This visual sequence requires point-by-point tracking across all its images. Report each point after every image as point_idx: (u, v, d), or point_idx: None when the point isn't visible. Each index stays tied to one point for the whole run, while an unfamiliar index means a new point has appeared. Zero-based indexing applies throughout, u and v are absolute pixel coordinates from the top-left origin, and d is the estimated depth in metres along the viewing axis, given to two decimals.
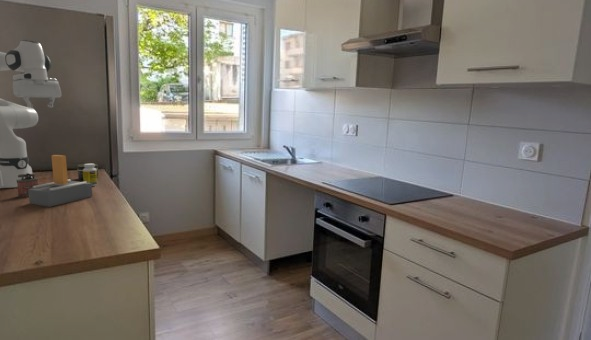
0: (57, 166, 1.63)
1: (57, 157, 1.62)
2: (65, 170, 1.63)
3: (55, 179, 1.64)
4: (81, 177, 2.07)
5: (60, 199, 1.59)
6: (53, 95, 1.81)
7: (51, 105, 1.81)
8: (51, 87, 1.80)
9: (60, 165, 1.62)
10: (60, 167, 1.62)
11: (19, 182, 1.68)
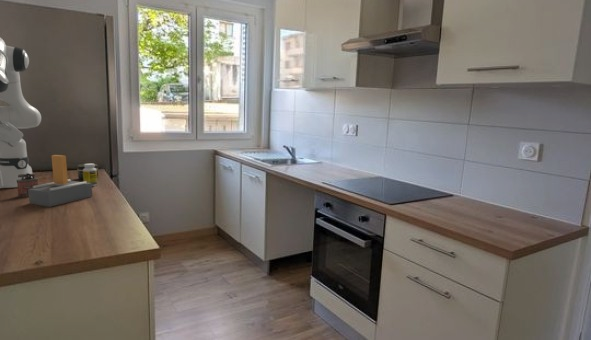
0: (57, 166, 1.63)
1: (57, 157, 1.62)
2: (65, 170, 1.63)
3: (55, 179, 1.64)
4: (81, 177, 2.07)
5: (60, 199, 1.59)
6: (9, 140, 1.39)
7: (12, 145, 1.45)
8: (1, 133, 1.36)
9: (60, 165, 1.62)
10: (60, 167, 1.62)
11: (19, 182, 1.68)
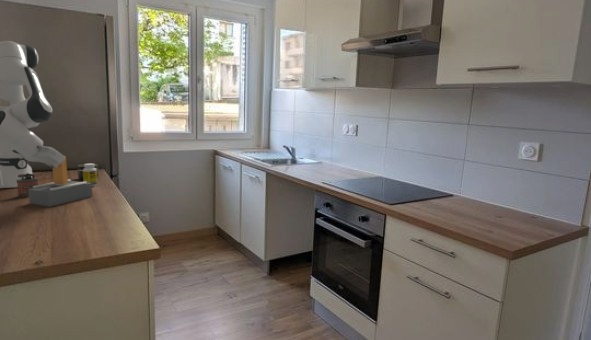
0: None
1: None
2: (65, 170, 1.63)
3: (55, 179, 1.64)
4: (81, 177, 2.07)
5: (60, 199, 1.59)
6: (52, 163, 1.55)
7: (53, 167, 1.61)
8: (46, 157, 1.52)
9: (60, 165, 1.62)
10: (60, 167, 1.62)
11: (19, 182, 1.68)
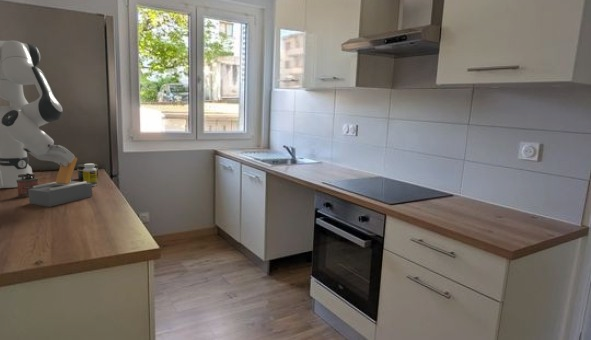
0: None
1: None
2: (71, 171, 1.66)
3: (58, 178, 1.65)
4: (81, 177, 2.07)
5: (60, 199, 1.59)
6: (62, 161, 1.59)
7: (63, 165, 1.65)
8: (56, 155, 1.56)
9: (69, 165, 1.65)
10: (68, 166, 1.65)
11: (19, 182, 1.68)
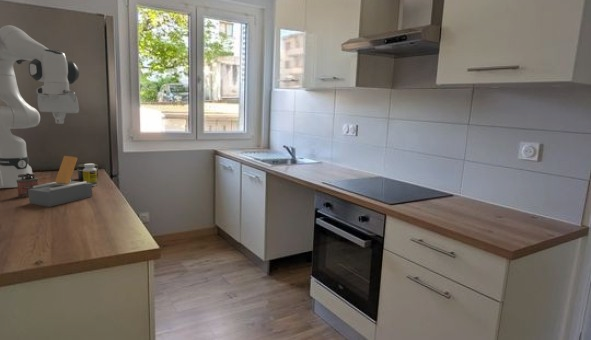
0: (65, 165, 1.66)
1: (69, 157, 1.67)
2: (71, 171, 1.66)
3: (58, 178, 1.65)
4: (81, 177, 2.07)
5: (60, 199, 1.59)
6: (64, 110, 1.57)
7: (58, 121, 1.61)
8: (63, 102, 1.57)
9: (69, 165, 1.66)
10: (68, 166, 1.65)
11: (19, 182, 1.68)
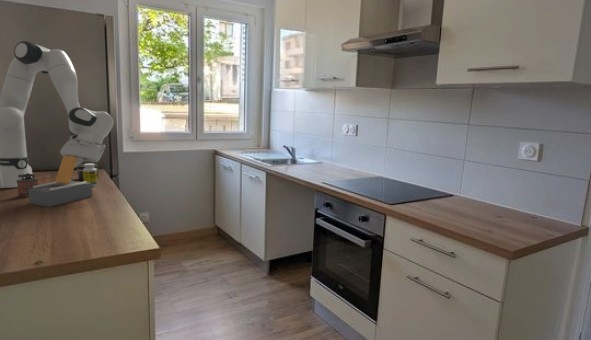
0: (65, 165, 1.66)
1: (68, 157, 1.67)
2: (71, 171, 1.66)
3: (57, 178, 1.65)
4: (81, 177, 2.07)
5: (60, 199, 1.59)
6: (86, 155, 1.68)
7: None
8: (90, 149, 1.70)
9: (68, 165, 1.65)
10: (68, 166, 1.65)
11: (19, 182, 1.68)
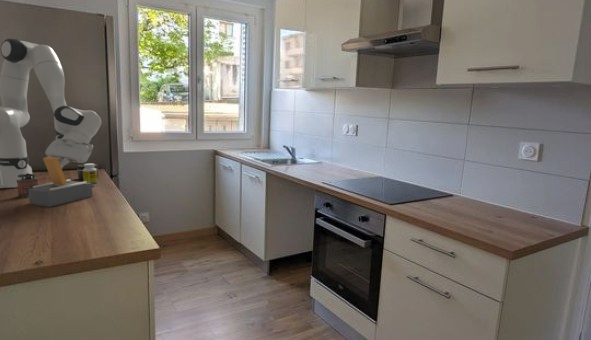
0: (51, 168, 1.60)
1: (49, 160, 1.59)
2: (61, 171, 1.61)
3: (54, 180, 1.64)
4: (81, 177, 2.07)
5: (60, 199, 1.59)
6: (72, 156, 1.62)
7: None
8: (77, 150, 1.64)
9: (54, 168, 1.59)
10: (55, 169, 1.60)
11: (19, 182, 1.68)
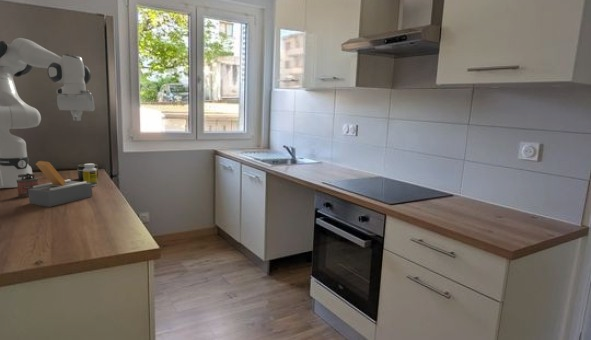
0: (47, 172, 1.59)
1: (42, 166, 1.56)
2: (57, 174, 1.60)
3: (52, 182, 1.63)
4: (81, 177, 2.07)
5: (60, 199, 1.59)
6: (81, 109, 1.76)
7: (76, 118, 1.79)
8: (81, 101, 1.76)
9: (49, 172, 1.58)
10: (50, 173, 1.58)
11: (19, 182, 1.68)
